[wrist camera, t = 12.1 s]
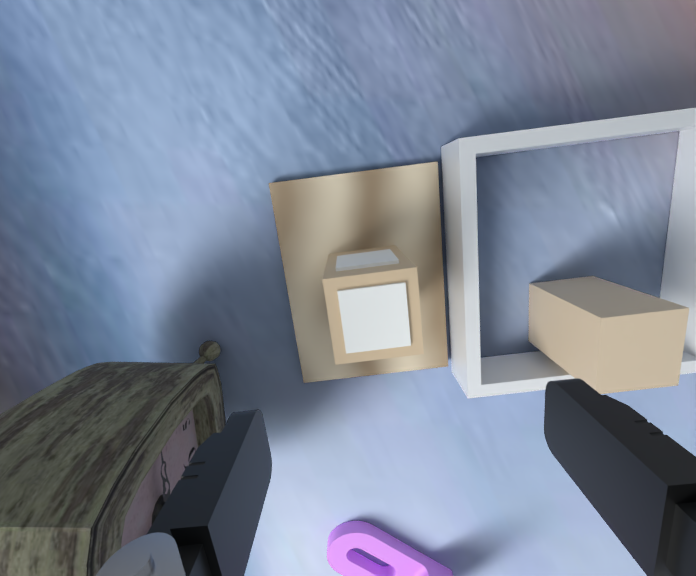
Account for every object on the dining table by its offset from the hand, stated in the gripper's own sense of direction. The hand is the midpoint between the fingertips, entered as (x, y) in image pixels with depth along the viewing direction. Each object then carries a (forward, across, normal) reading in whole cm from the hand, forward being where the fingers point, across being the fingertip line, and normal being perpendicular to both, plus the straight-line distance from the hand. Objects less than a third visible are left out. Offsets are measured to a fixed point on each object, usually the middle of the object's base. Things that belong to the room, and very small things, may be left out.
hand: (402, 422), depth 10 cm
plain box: (+18, -15, +5) cm, 24 cm away
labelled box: (+17, 0, 0) cm, 17 cm away
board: (+18, 0, 0) cm, 18 cm away
